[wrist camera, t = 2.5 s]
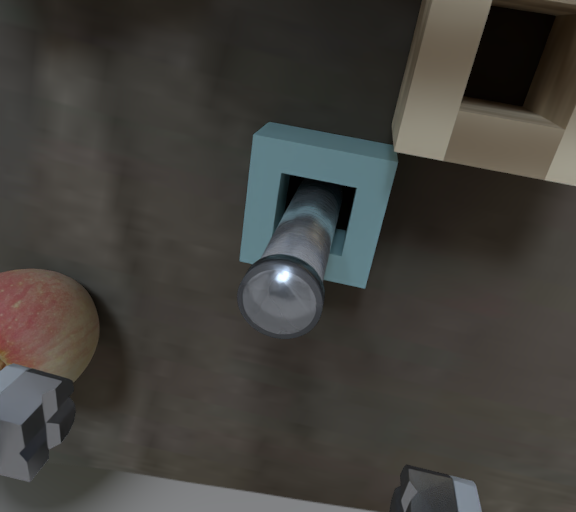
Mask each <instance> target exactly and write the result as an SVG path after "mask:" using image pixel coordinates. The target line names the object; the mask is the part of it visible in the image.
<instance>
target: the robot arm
mask: <svg viewBox="0 0 576 512" xmlns="http://www.w3.org/2000/svg"><path fill="white" fill-rule="evenodd" d="M73 392H74V386H73V380H70V379H68V378H65V377H61V376H58V375H54V374H51V373H47V372H44V371H40V370H37V369H33V368H29V367H25V366H22V365H18V364H14V363H13V364H10V365H8V366H6V367H4V368H3V369H2V370H1V371H0V475H3V476H8V477H12V478H15V479H20V480H24V481H27V482H31V480H32V479H33V478H34V477H35V475H36V474H37V472H38V471H39V470H40V469H41V468H42V467H43V465H44V464H45V463H46V462H47V460H48V459H49V449H50V448H52V447H54V446H56V445H58V444H60V443H62V441H63V440H64V439H65V437H66V436H67V435H68V433H69V431H70V429H71V427H72V425H73V422H74V419H75V413H76V409H75V404H74V402H73V401H72V400H71V398H70V397H69V396H70V395H71V394H72V393H73ZM400 484H401V486H399V487H397V488H395V490H394V493H393V496H392V500H391V505H390V510H389V512H482V510H481V505H480V501H479V496H478V491H477V487H476V485H475V483H474V482H473V481H471V480H467V479H463V478H459V477H455V476H449V475H447V474H443V473H439V472H435V471H431V470H427V469H423V468H419V467H415V466H410V465H405V466H404V467H403V470H402V472H401V474H400Z"/></svg>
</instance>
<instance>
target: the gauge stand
mask: <svg viewBox="0 0 576 512" xmlns="http://www.w3.org/2000/svg"><path fill="white" fill-rule="evenodd" d="M397 165H398V157H397V152H394V146H393V145H390V144H385V143H380V142H374V141H369V140H364V139H358V138H353V137H348V136H342V135H337V134H332V133H326V132H321V131H316V130H310V129H305V128H300V127H295V126H289V125H284V124H279V123H273V122H268V123H267V124H266V125H264V126H263V127H262V128H261V129H259V130H258V131H257V132H256V133H255V134H253V142H252V151H251V160H250V169H249V178H248V187H247V197H246V206H245V215H244V224H243V233H242V242H241V251H240V260H239V261H241V262H245V263H250V264H254V263H255V262H256V261H257V260H259V259H260V258H261V256H262V255H263V253H264V251H265V249H266V247H267V245H268V243H269V241H270V240H271V238H272V236H273V234H274V232H275V230H276V228H277V226H278V225H279V223H280V221H281V219H282V217H283V215H284V212H285V206H286V199H287V193H288V186H289V180H290V175H295V176H300V177H305V178H310V179H315V180H320V181H325V182H330V183H335V184H340V185H345V186H350V187H355V188H356V189H355V194H354V198H353V203H352V207H351V211H350V216H349V220H348V225H347V229H346V231H345V230H340V229H335V233H334V237H333V241H332V245H331V250H330V254H329V258H328V262H327V267H326V271H325V275H324V279H323V280H327V281H332V282H336V283H341V284H346V285H350V286H355V287H359V288H364V289H365V287H366V283H367V279H368V276H369V272H370V268H371V264H372V260H373V256H374V253H375V249H376V245H377V241H378V237H379V233H380V230H381V226H382V222H383V218H384V214H385V211H386V207H387V203H388V199H389V195H390V191H391V188H392V184H393V180H394V176H395V172H396V169H397Z"/></svg>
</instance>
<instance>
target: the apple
mask: <svg viewBox="0 0 576 512" xmlns="http://www.w3.org/2000/svg"><path fill="white" fill-rule="evenodd" d="M99 329H100V327H99V317H98V313H97V310H96V307H95V305H94V302H93V300H92V298H91V296H90V295H89V293H88V292H87V290H86V289H85V288H84V287H83V286H82V285H81V284H79V283H78V282H77V281H75V280H74V279H72V278H70V277H68V276H66V275H64V274H61V273H58V272H55V271H50V270H44V269H18V270H11V271H6V272H3V273H0V371H1V370H2V369H3V368H4V367H6V366H8V365H10V364H13V363H14V364H18V365H22V366H25V367H29V368H33V369H37V370H40V371H44V372H47V373H51V374H54V375H58V376H61V377H65V378H68V379H70V380H73V382H74V381H76V380H77V378H78V377H79V376H80V375H81V374H82V373H83V371H84V370H85V369H86V367H87V366H88V364H89V363H90V361H91V359H92V357H93V355H94V353H95V350H96V347H97V343H98V340H99Z"/></svg>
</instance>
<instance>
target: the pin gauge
mask: <svg viewBox="0 0 576 512" xmlns="http://www.w3.org/2000/svg"><path fill="white" fill-rule="evenodd" d="M342 199H343V190H342V186H341V185H340V184H335V183H330V182H325V181H320V180H315V179H310V178H304V179H303V180H302V182H301V184H300V185H299V187H298V189H297V191H296V193H295V195H294V197H293V198H292V200H291V202H290V204H289V206H288V208H287V210H286V212H285V213H284V215H283V217H282V219H281V221H280V223H279V225H278V226H277V228H276V230H275V232H274V234H273V236H272V238H271V240H270V241H269V243H268V245H267V247H266V249H265V251H264V253H263V255H262V256H261V258H260V259H259V260H257V261H256V262H255V263H254V264H253V265H251V267H250V268H249V269H248V271H247V273H246V274H245V276H244V278H243V280H242V282H241V283H240V286H239V288H238V293H237V301H238V306H239V309H240V312H241V314H242V315H243V317H244V319H245V320H246V321H247V322H248V323H249V324H250V325H251V326H252V327H253V328H254V329H256V330H257V331H259V332H260V333H262V334H264V335H267V336H270V337H273V338H279V339H291V338H296V337H299V336H302V335H304V334H306V333H308V332H309V331H310V330H312V329H313V328H314V327H315V325H316V324H317V323H318V321H319V319H320V316H321V313H322V308H323V304H324V298H325V290H324V285H323V279H324V275H325V271H326V267H327V262H328V258H329V254H330V250H331V245H332V241H333V237H334V233H335V229H336V224H337V220H338V216H339V212H340V207H341V203H342Z"/></svg>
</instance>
